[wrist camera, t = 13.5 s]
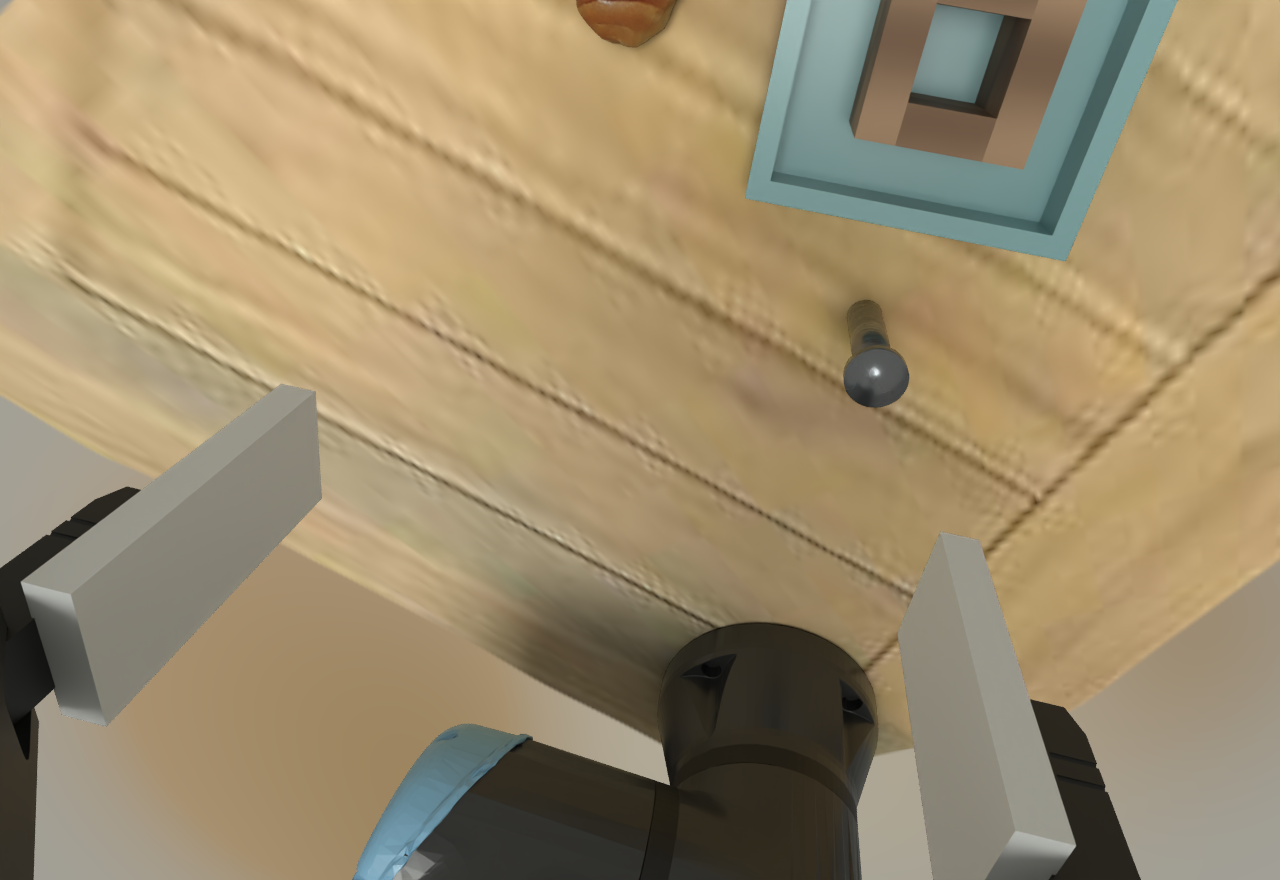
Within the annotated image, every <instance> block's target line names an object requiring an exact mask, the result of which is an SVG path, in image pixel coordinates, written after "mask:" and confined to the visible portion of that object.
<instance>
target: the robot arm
mask: <svg viewBox="0 0 1280 880" xmlns="http://www.w3.org/2000/svg"><path fill="white" fill-rule="evenodd" d="M321 499H322V493H321V476H320V459H319V442H318V425H317V408H316V391H311V390H307V389H302V388H298V387H293V386H289V385H284V384H280V385H279V386H278V387H276V388H275V389H274V390H273V391H271V392H270V393H269V394H267V395H266V396H265V397H263V398H262V399H261V400H259V401H258V402H257V403H255V404H254V405H253V406H251V407H250V408H249V409H247V410H246V411H245V412H244V413H242V414H241V415H240V416H238V417H237V418H236V419H234V420H233V421H232V422H230V423H229V424H228V425H226V426H225V427H224V428H222V429H221V430H220V431H219V432H217V433H216V434H215V435H213V436H212V437H211V438H209V439H208V440H207V441H205V442H204V443H203V444H201V445H200V446H199V447H197V448H196V449H195V450H194V451H192V452H191V453H190V454H188V455H187V456H186V457H184V458H183V459H182V460H180V461H179V462H178V463H176V464H175V465H174V466H172V467H171V468H170V469H168V470H167V471H166V472H165V473H163V474H162V475H161V476H159V477H158V478H157V479H155V480H154V481H153V482H151V483H150V484H149V485H147V486H146V487H145V488H143V489H142V490H139V489H135V488H130V487H125V488H122V489H120V490H117V491H115V492H113V493H110V494H108V495H105V496H103V497H100V498H98V499H95V500H94V501H92V502H91V503H90V504H88V505H87V506H86V507H84V508H83V509H81V510H80V511H79V512H77V513H76V514H74V515H73V516H72V517H71V520H70V521H67V520H66V521H65V522H63V523H62V524H61V525H59V526H58V527H56V528H55V529H54V530H53V531H52V533H51V535H46V536H44V537H43V538H41V539H40V540H39V541H37V542H36V543H34V544H33V545H32V546H30V547H29V548H27V549H26V550H25V551H23V552H22V553H21V554H19V555H18V556H16V557H15V558H14V559H12V560H11V561H9V562H8V563H7V564H5V565H4V566H3V567H1V568H0V880H33V878H34V848H35V847H34V846H35V818H36V788H37V786H36V785H37V758H38V757H37V756H38V728H39V721H38V718H37V715H36V711H35V709H34V707H35V706H36V705H37V704H38V703H39V702H40V701H41V700H42V699H43V698H45V697H46V696H47V695H48V694H49V693H50V692H51V691H52V690H53V689H54V692H55V695H56V698H57V701H58V705H59V708H60V711H61V714H62V715H64V716H68V717H71V718H75V719H79V720H83V721H87V722H90V723H94V724H98V725H102V726H108V725H109V723H110V722H111V721H112V720H113V719H114V718H115V717H116V716H117V715H118V714H119V713H120V712H121V711H122V710H123V709H124V708H125V707H126V705H127V704H128V703H129V702H130V701H131V700H132V699H133V698H134V697H135V696H136V695H137V694H138V693H139V692H140V691H141V690H142V688H143V687H144V686H145V685H146V684H147V683H148V682H149V681H150V680H151V679H152V678H153V677H154V676H155V675H156V673H158V672H159V670H160V669H161V668H162V667H163V666H164V665H165V664H166V663H167V662H168V661H169V660H170V659H171V658H172V657H173V656H174V655H175V653H176V652H177V651H178V650H179V649H180V648H181V647H182V646H183V645H184V644H185V643H186V642H187V641H188V640H189V639H190V638H191V636H192V635H193V634H194V633H195V632H196V631H197V630H198V629H199V628H200V627H201V626H202V625H203V624H204V623H205V622H206V621H207V620H208V618H209V617H210V616H211V615H212V614H213V613H214V612H215V611H216V610H217V609H218V608H219V607H220V606H221V605H222V604H223V602H224V601H225V600H226V599H227V598H228V597H229V596H230V595H231V594H232V593H233V592H234V591H235V590H236V589H237V588H238V587H239V586H240V584H241V583H242V582H243V581H244V580H245V579H246V578H247V577H248V576H249V575H250V574H251V573H252V572H253V571H254V570H255V568H257V566H258V565H259V564H260V563H261V562H262V561H263V560H264V559H265V558H266V557H267V556H268V555H269V554H270V553H271V552H272V551H273V550H274V548H275V547H276V546H277V545H278V544H279V543H280V542H281V541H282V540H283V539H284V538H285V537H286V536H287V535H288V534H289V533H290V531H291V530H292V529H293V528H294V527H295V526H296V525H297V524H298V523H299V522H300V521H301V520H302V519H303V518H304V517H305V516H306V515H307V513H308V512H309V511H310V510H311V509H312V508H313V507H314V506H315V505H316V504H317V503H318V502H319V501H320V500H321ZM898 640H899V647H900V654H901V661H902V668H903V674H904V681H905V688H906V695H907V702H908V709H909V716H910V723H911V730H912V737H913V744H914V750H915V757H916V764H917V771H918V778H919V785H920V792H921V799H922V806H923V813H924V819H925V826H926V833H927V840H928V847H929V854H930V861H931V867H932V875H933V880H1141V879H1140V877H1139V874H1138V871H1137V869H1136V866H1135V863H1134V861H1133V858H1132V856H1131V853H1130V850H1129V848H1128V845H1127V842H1126V840H1125V837H1124V834H1123V832H1122V829H1121V826H1120V824H1119V821H1118V819H1117V816H1116V813H1115V811H1114V808H1113V805H1112V802H1111V800H1110V797H1109V795H1108V793H1107V792H1105V784H1104V782H1103V779H1102V776H1101V773H1100V771H1099V769H1097V768H1096V764H1097V763H1096V760H1095V758H1094V755H1093V752H1092V749H1091V747H1090V744H1089V742H1088V739H1087V736H1086V734H1085V733H1084V732H1083V731H1082V729H1081V728H1080V727H1079V726H1078V724H1077V723H1076V722H1075V721H1074V719H1073V718H1072V717H1071V715H1070V714H1069V713H1068V712H1067V710H1066V709H1065V708H1064V707H1060V706H1056V705H1052V704H1047V703H1043V702H1039V701H1035V700H1031V699H1030V698H1029V695H1028V692H1027V689H1026V686H1025V682H1024V679H1023V676H1022V673H1021V670H1020V667H1019V664H1018V660H1017V657H1016V654H1015V651H1014V648H1013V645H1012V641H1011V638H1010V635H1009V632H1008V629H1007V626H1006V623H1005V619H1004V616H1003V613H1002V610H1001V607H1000V604H999V600H998V597H997V594H996V591H995V588H994V585H993V582H992V578H991V575H990V572H989V569H988V566H987V563H986V559H985V556H984V553H983V550H982V547H981V544H980V541H979V540H977V539H972V538H968V537H963V536H959V535H954V534H950V533H945V532H941V531H940V534H939V536H938V539H937V541H936V543H935V546H934V548H933V550H932V553H931V555H930V557H929V560H928V562H927V565H926V567H925V569H924V572H923V574H922V576H921V579H920V581H919V583H918V586H917V588H916V591H915V593H914V595H913V598H912V600H911V602H910V605H909V607H908V610H907V612H906V614H905V617H904V619H903V621H902V624H901V626H900V628H899V631H898ZM658 726H659V731H660V736H661V741H662V746H663V751H664V756H665V761H666V767H667V771H668V777H669V781H670V785H667V784H664V783H661V782H657V781H655V780H652V779H649V778H646V777H643V776H640V775H637V774H633V773H631V772H627V771H624V770H621V769H618V768H615V767H612V766H609V765H606V764H603V763H600V762H597V761H594V760H591V759H588V758H585V757H582V756H578V755H576V754H572V753H569V752H566V751H563V750H560V749H557V748H554V747H551V746H548V745H545V744H542V743H539V742H536V741H533V738H532V737H531V736H529V735H526V734H520V735H513V734H509V733H505V732H502V731H498V730H494V729H491V728H487V727H483V726H479V725H475V724H461V725H457V726H455V727H452V728H450V729H448V730H446V731H444V732H443V733H442V734H440V735H439V736H438V737H437V738H436V739H435V740H434V741H433V742H432V743H431V744H430V745H429V746H428V747H427V748H426V749H425V751H424V752H423V753H422V754H421V756H420V757H419V758H418V759H417V761H416V762H415V763H414V765H413V766H412V768H411V769H410V770H409V772H408V773H407V775H406V776H405V778H404V779H403V781H402V783H401V784H400V786H399V787H398V789H397V790H396V792H395V794H394V795H393V797H392V799H391V800H390V802H389V804H388V806H387V807H386V809H385V811H384V813H383V814H382V816H381V818H380V820H379V822H378V824H377V825H376V827H375V829H374V831H373V833H372V835H371V837H370V839H369V841H368V843H367V845H366V847H365V849H364V851H363V853H362V856H361V857H360V860H359V862H358V865H357V872H356V873H355V875H354V877H353V879H352V880H862V878H861V864H860V851H859V838H858V824H857V805H858V802H859V799H860V796H861V793H862V790H863V787H864V784H865V781H866V778H867V775H868V772H869V769H870V765H871V763H872V760H873V757H874V753H875V750H876V747H877V741H878V718H877V708H876V700H875V695H874V692H873V689H872V686H871V684H870V682H869V680H868V678H867V677H866V675H865V674H864V672H863V671H862V670H861V668H860V667H859V666H858V665H857V664H856V662H855V661H853V660H852V659H851V658H850V657H849V656H848V655H847V654H846V653H845V652H843V651H842V650H840V649H839V648H838V647H836V646H834V645H833V644H831V643H829V642H828V641H826V640H824V639H822V638H820V637H818V636H815V635H813V634H810V633H807V632H804V631H801V630H798V629H794V628H790V627H785V626H779V625H770V624H744V625H736V626H730V627H725V628H722V629H718V630H715V631H712V632H710V633H707V634H705V635H703V636H701V637H699V638H697V639H695V640H694V641H692V642H691V643H689V644H688V645H686V646H685V647H684V648H683V649H682V650H681V651H680V652H679V653H678V654H677V655H676V656H675V657H674V658H673V660H672V661H671V663H670V664H669V666H668V668H667V670H666V672H665V675H664V678H663V682H662V687H661V692H660V697H659V702H658Z"/></svg>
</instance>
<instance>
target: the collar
mask: <svg viewBox="0 0 1280 880" xmlns="http://www.w3.org/2000/svg"><path fill="white" fill-rule="evenodd" d="M1086 3H1087V0H881V1H880V5H879V9H878V12H877V16H876V20H875V24H874V28H873V31H872V35H871V39H870V43H869V47H868V50H867V54H866V58H865V62H864V66H863V69H862V73H861V77H860V81H859V84H858V88H857V92H856V96H855V100H854V103H853V107H852V111H851V115H850V119H849V123H850V126H851V129H852V132H853V135H854V138H856V139H861V140H866V141H872V142H877V143H883V144H888V145H893V146H899V147H904V148H909V149H915V150H920V151H926V152H931V153H936V154H942V155H947V156H952V157H958V158H963V159H969V160H974V161H979V162H985V163H990V164H995V165H1001V166H1006V167H1011V168H1017V169H1022V170H1024V167H1025V164H1026V162H1027V159H1028V156H1029V154H1030V151H1031V148H1032V146H1033V143H1034V141H1035V138H1036V135H1037V133H1038V130H1039V127H1040V125H1041V122H1042V119H1043V117H1044V114H1045V111H1046V109H1047V106H1048V103H1049V101H1050V98H1051V95H1052V93H1053V90H1054V88H1055V85H1056V82H1057V80H1058V77H1059V74H1060V72H1061V69H1062V66H1063V64H1064V61H1065V58H1066V56H1067V53H1068V50H1069V48H1070V45H1071V42H1072V40H1073V37H1074V35H1075V32H1076V29H1077V27H1078V24H1079V21H1080V19H1081V16H1082V13H1083V11H1084V8H1085V5H1086ZM937 4H940V5H946V6H952V7H958V8H963V9H969V10H975V11H981V12H987V13H992V14H998V15H1004V17H1003V20H1002V23H1001V26H1000V29H999V32H998V35H997V38H996V41H995V44H994V47H993V50H992V53H991V56H990V59H989V62H988V65H987V68H986V71H985V74H984V77H983V80H982V83H981V86H980V89H979V92H978V95H977V98H976V101H975V103H969V102H964V101H958V100H953V99H947V98H941V97H936V96H930V95H925V94H919V93H914V92H911V90H912V87H913V83H914V80H915V76H916V73H917V70H918V66H919V63H920V59H921V56H922V53H923V49H924V46H925V43H926V39H927V36H928V32H929V29H930V26H931V22H932V19H933V15H934V12H935V9H936V5H937Z"/></svg>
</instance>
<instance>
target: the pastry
mask: <svg viewBox="0 0 1280 880" xmlns="http://www.w3.org/2000/svg"><path fill="white" fill-rule="evenodd" d="M576 1H577V8H578V11H579V13H580V14H581V16H582V17H583V19H584V20H585V21H586V23H587V24H588V25H589V26H590V27H591V28H592V29H593V30H594V32H595V33H597V34H598V35H599V36H600V37H601V38H602V39H605V40H607V41H610V42H612V43H617V44H622V45H624V46H627V47H638V46H640V45H642V44H643V43H645V42H646V41H647V40H649V39H650V38H651V37H653V36H654V35H656V34H658V33H659V32H660V31H662V30H663V29H664V28H665V26H666V24H667V21H668V18H669V16H670V14H671V11H672V9H673V7H674V4H675V2H676V0H576Z"/></svg>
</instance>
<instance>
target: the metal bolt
mask: <svg viewBox="0 0 1280 880" xmlns="http://www.w3.org/2000/svg"><path fill="white" fill-rule="evenodd" d="M847 320H848V328H849V336H850V343H851V351H852V356H851V357H850V358H849V360H848V361H847V363H846V365H845V368H844V374H843V376H844V385H845V389H846V391H847V393H848V395H849V396H850V397H851V398H852V399H853V400H854V401H855V402H857V403H858V404H860V405H863V406H866V407H875V408H876V407H883V406H887V405H889V404H892V403H893V402H895V401H896V400H898V399H899V398H900V397H901V396H902V395H903V394H904V392H905V390H906V388H907V386H908V383H909V372H908V368H907V365H906V362H905V360H904V358H903V357H902V356H901V355H900V354H899V353H898V352H897V351H896V350H894V349H892V348H890V344H889V340H888V335H887V331H886V327H885V323H884V319H883V315H882V311H881V308H880V307H879V305H878V304H876V303H875V302H873V301H870V300H862V301H859V302H856V303H855V304H854V305H852V306H851V308H850V309H849V311H848V314H847Z"/></svg>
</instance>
